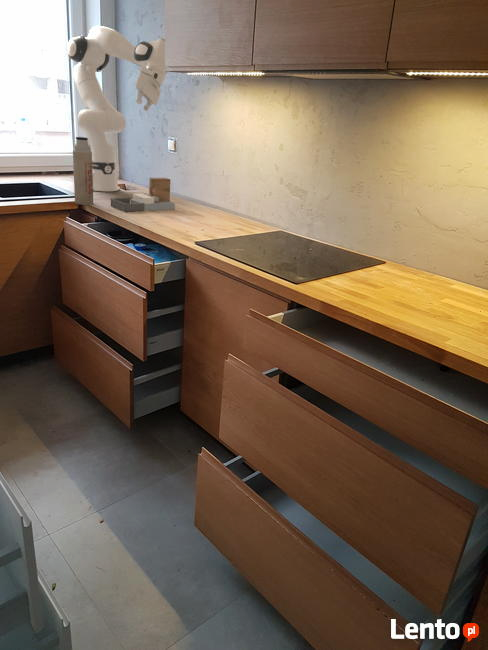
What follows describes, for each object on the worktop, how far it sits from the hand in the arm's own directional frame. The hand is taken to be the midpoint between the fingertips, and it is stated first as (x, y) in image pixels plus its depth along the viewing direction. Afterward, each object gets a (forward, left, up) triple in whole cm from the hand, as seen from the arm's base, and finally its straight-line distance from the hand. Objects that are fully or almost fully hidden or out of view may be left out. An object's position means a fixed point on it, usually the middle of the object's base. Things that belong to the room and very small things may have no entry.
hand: (141, 106), depth 224 cm
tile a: (+13, -8, -39) cm, 42 cm away
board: (+16, -3, -42) cm, 45 cm away
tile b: (+19, -8, -39) cm, 44 cm away
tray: (+16, -16, -42) cm, 48 cm away
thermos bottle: (0, -29, -42) cm, 51 cm away
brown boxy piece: (+16, +1, -39) cm, 42 cm away
